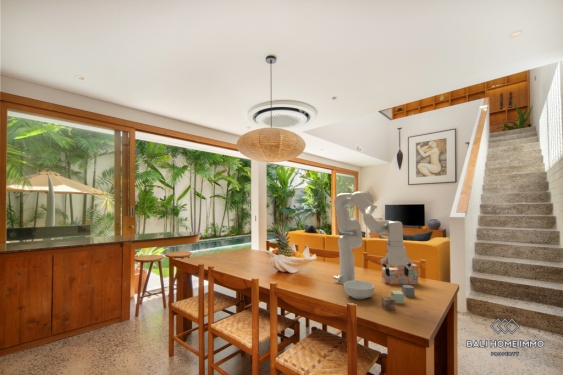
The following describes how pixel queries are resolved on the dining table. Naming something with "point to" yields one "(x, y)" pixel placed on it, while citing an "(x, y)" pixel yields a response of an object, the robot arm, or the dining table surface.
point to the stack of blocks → (401, 275)
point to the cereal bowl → (358, 289)
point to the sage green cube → (397, 296)
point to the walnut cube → (388, 303)
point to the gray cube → (408, 291)
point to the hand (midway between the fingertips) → (397, 275)
